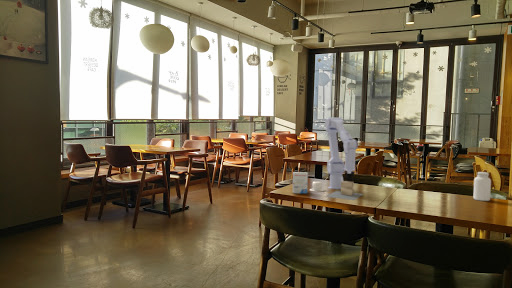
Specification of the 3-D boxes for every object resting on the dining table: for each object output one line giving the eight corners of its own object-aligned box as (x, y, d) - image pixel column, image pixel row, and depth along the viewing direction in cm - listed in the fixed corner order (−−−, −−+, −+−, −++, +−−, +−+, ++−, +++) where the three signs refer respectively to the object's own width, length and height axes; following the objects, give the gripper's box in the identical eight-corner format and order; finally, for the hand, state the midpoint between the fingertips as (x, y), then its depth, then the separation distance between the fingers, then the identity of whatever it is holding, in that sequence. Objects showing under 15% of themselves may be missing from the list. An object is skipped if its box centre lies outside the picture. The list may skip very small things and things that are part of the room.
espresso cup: (312, 188, 237) (313, 180, 237) (326, 190, 233) (327, 182, 232) (307, 190, 229) (307, 182, 229) (321, 192, 225) (321, 184, 225)
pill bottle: (487, 198, 215) (489, 172, 214) (491, 201, 207) (493, 173, 206) (471, 197, 217) (473, 171, 216) (474, 200, 210) (476, 173, 209)
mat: (336, 191, 228) (336, 190, 228) (363, 194, 220) (363, 193, 220) (324, 197, 211) (324, 196, 211) (354, 201, 203) (354, 200, 203)
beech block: (342, 192, 222) (343, 180, 222) (353, 194, 219) (353, 181, 219) (340, 194, 219) (341, 181, 218) (351, 195, 216) (351, 182, 215)
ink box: (307, 192, 226) (307, 171, 225) (307, 193, 221) (307, 173, 220) (292, 191, 227) (292, 171, 226) (292, 193, 222) (292, 172, 221)
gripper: (343, 159, 229) (342, 182, 230) (342, 161, 215) (341, 186, 216) (355, 159, 227) (355, 182, 228) (355, 162, 213) (354, 186, 214)
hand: (349, 184), depth 222 cm, fingers closed
